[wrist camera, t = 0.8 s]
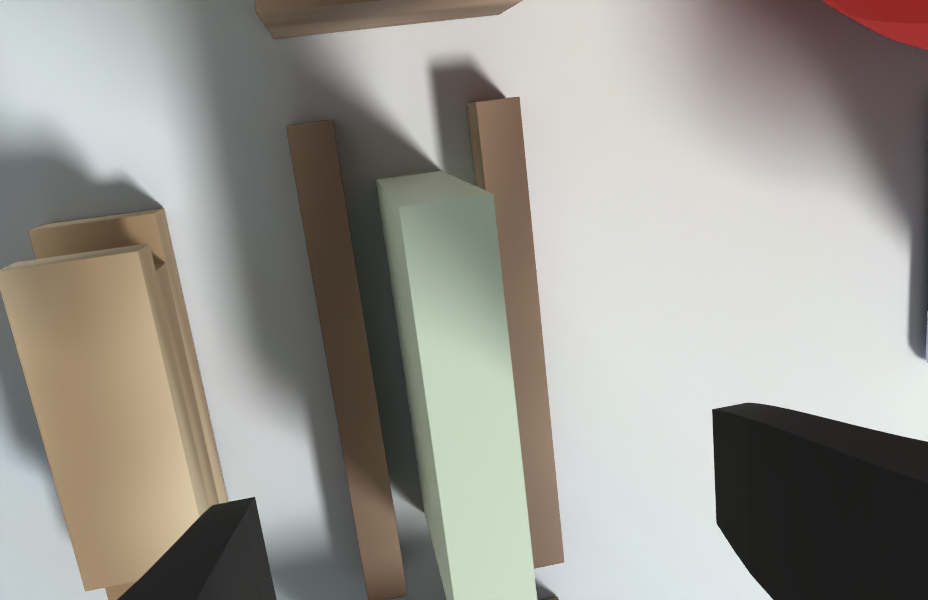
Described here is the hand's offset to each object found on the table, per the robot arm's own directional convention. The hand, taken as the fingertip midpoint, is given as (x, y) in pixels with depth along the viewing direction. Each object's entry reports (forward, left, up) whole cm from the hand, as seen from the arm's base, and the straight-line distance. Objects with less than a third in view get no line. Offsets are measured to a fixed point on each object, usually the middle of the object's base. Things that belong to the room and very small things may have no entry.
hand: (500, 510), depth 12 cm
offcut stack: (+7, 0, -8) cm, 11 cm away
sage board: (0, 0, -8) cm, 8 cm away
